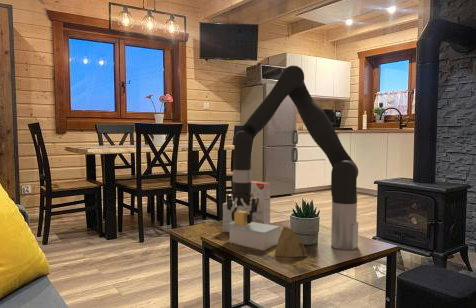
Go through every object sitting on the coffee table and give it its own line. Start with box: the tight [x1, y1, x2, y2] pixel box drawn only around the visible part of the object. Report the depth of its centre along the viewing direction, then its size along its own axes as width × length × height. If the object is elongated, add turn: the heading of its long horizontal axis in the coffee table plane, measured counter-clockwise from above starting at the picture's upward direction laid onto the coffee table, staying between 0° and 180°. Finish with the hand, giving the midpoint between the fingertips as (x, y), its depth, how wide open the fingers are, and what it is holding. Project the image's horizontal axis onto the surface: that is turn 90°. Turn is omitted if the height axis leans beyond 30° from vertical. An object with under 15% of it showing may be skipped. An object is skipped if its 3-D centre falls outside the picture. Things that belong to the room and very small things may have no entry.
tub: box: [228, 228, 280, 251], centre depth 148 cm, size 16×11×6 cm
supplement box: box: [222, 201, 244, 233], centre depth 167 cm, size 7×7×13 cm
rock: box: [273, 226, 308, 258], centre depth 132 cm, size 11×9×10 cm
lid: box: [228, 210, 281, 235], centre depth 148 cm, size 20×12×7 cm, turn 55°
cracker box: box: [244, 180, 271, 225], centre depth 177 cm, size 14×6×21 cm, turn 53°
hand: (241, 221), depth 151 cm, fingers open, 6 cm apart
